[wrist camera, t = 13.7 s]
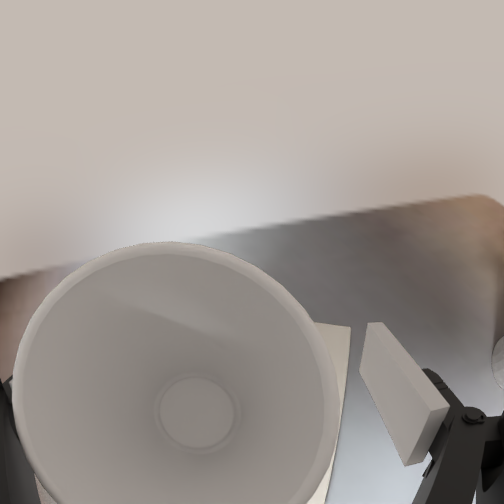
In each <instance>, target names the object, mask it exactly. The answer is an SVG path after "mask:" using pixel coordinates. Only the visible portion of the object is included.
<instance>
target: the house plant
mask: <svg viewBox="0 0 504 504" xmlns="http://www.w3.org/2000/svg"><path fill="white" fill-rule="evenodd" d="M492 369H493V374H494V377H495V380H496V382H497V383H498V385H499V386H500V387H501V388H502V389H503V390H504V336H503V337H502V338H501V339H500V340H499V341H498V342H497V343H496V345H495V347H494V350H493V355H492Z"/></svg>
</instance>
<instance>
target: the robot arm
mask: <svg viewBox="0 0 504 504" xmlns="http://www.w3.org/2000/svg"><path fill="white" fill-rule="evenodd" d="M359 373H360V374H361V376H362V378H363V380H364V382H365V385H366V387H367V389H368V391H369V393H370V395H371V397H372V399H373V401H374V403H375V405H376V407H377V409H378V411H379V413H380V415H381V417H382V419H383V421H384V424H385V426H386V428H387V430H388V432H389V434H390V436H391V438H392V440H393V443H394V445H395V447H396V449H397V451H398V453H399V456H400V458H401V460H402V462H403V464H404V467H405V466H409V465H413V464H417V463H420V462H423V460H424V459H425V457H426V455H427V453H428V451H429V453H430V454H431V456H432V460H431V462H430V464H429V465H428V467H427V469H426V470H425V472H424V474H423V475H422V476H423V477H424V478H423V480H422V483H421V485H420V487H419V490H418V492H417V494H416V496H415V498H414V500H413V503H412V504H472V501H473V498H474V494H475V490H476V504H504V411H503V413H502V415H501V416H495V417H487V416H486V415H485V414H484V412H482V411H481V410H480V409H477V408H474V407H464V406H463V404H462V403H461V402H460V401H459V399H458V398H457V397H456V396H455V395H454V393H453V392H452V391H451V390H450V388H449V389H448V386H447V385H446V384H445V383H443V380H442V379H441V378H440V377H439V375H438V374H436V373H435V372H433V371H431V370H430V369H421V368H420V367H419V366H418V365H417V363H416V362H415V361H414V360H413V358H412V357H411V356H410V355H409V354H408V352H407V351H406V350H405V349H404V347H403V346H402V345H401V344H400V343H399V341H398V340H397V339H396V338H395V337H394V335H393V334H392V333H391V332H390V331H389V329H388V328H387V327H386V326H385V325H384V324H383V322H373V323H368V324H367V330H366V336H365V342H364V347H363V353H362V358H361V363H360V368H359ZM12 382H13V375H12V376H11V377H10V378H8V379H7V380H6V381H5V382H4V383H3V384H2V382H1V379H0V504H41V502H40V498H39V494H38V490H37V486H36V481H35V477H34V472H33V470H32V468H31V466H30V464H29V462H28V461H27V459H26V456H25V453H24V451H23V448H22V445H21V442H20V439H19V436H18V433H17V430H16V425H15V419H14V412H13V405H12Z"/></svg>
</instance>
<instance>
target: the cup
mask: <svg viewBox="0 0 504 504" xmlns="http://www.w3.org/2000/svg"><path fill="white" fill-rule="evenodd" d="M12 405H13V412H14V419H15V425H16V430H17V433H18V436H19V439H20V442H21V445H22V448H23V451H24V453H25V456H26V459H27V461H28V462H29V464H30V466H31V468H32V470H33V471H34V473H35V475H36V476H37V478H38V480H39V481H40V483H41V485H42V486H43V487H44V489H45V490H46V491H47V492H48V493H49V495H50V496H51V497H52V498H53V499H54V500H55V502H56V503H57V504H306V503H307V502H308V501H309V500H310V499H311V498H312V497H313V495H314V493H315V492H316V490H317V488H318V486H319V484H320V483H321V481H322V479H323V477H324V475H325V474H326V472H327V470H328V468H329V466H330V462H331V459H332V456H333V452H334V448H335V445H336V441H337V437H338V433H339V414H340V397H339V391H338V385H337V379H336V373H335V367H334V365H333V362H332V360H331V357H330V355H329V352H328V349H327V347H326V344H325V342H324V339H323V337H322V335H321V334H320V332H319V330H318V329H317V327H316V326H315V324H314V323H313V321H312V320H311V318H310V316H309V315H308V313H307V312H306V310H305V309H304V308H303V307H302V306H301V305H300V303H299V302H298V301H297V300H296V299H295V298H294V297H293V296H292V295H291V294H290V293H289V292H288V291H287V290H286V289H285V288H284V287H283V286H282V285H281V284H280V283H278V282H277V281H276V280H274V279H273V278H272V277H270V276H269V275H267V274H266V273H265V272H263V271H262V270H261V269H259V268H258V267H256V266H254V265H252V264H250V263H248V262H246V261H244V260H242V259H240V258H238V257H236V256H234V255H232V254H230V253H227V252H223V251H220V250H216V249H213V248H210V247H206V246H203V245H197V244H188V243H180V242H156V243H142V244H138V245H133V246H129V247H125V248H121V249H117V250H114V251H111V252H109V253H107V254H104V255H102V256H100V257H97V258H95V259H93V260H91V261H89V262H87V263H86V264H84V265H83V266H81V267H80V268H78V269H77V270H75V271H74V272H72V273H71V274H69V275H68V276H66V277H65V278H64V279H63V280H62V281H61V282H60V283H59V284H58V285H57V286H56V287H55V288H54V289H53V290H52V291H51V292H50V293H49V294H48V295H47V296H46V298H45V299H44V300H43V302H42V303H41V305H40V306H39V307H38V309H37V310H36V312H35V313H34V315H33V316H32V317H31V319H30V322H29V324H28V326H27V328H26V330H25V332H24V335H23V337H22V339H21V342H20V344H19V348H18V352H17V356H16V360H15V365H14V369H13V382H12Z"/></svg>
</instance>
